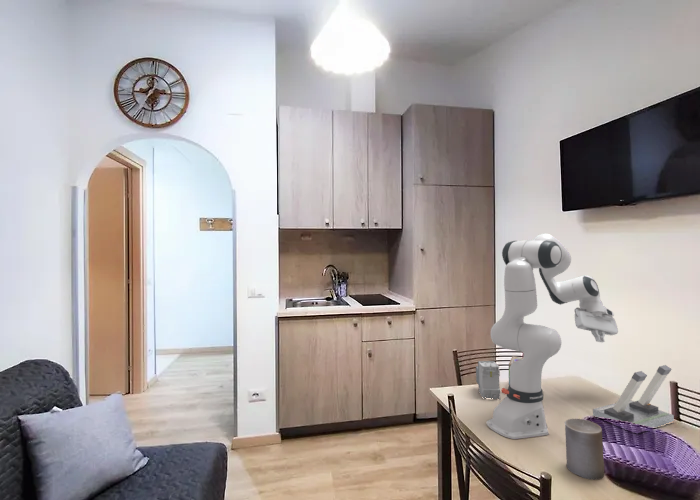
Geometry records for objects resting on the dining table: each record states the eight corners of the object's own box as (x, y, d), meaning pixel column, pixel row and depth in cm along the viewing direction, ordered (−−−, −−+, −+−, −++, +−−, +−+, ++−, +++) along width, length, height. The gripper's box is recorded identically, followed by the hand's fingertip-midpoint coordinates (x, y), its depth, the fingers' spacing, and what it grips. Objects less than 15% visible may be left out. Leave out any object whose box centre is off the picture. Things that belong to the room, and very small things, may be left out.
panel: (636, 434, 131) (636, 421, 132) (593, 416, 146) (592, 404, 146) (673, 422, 139) (673, 410, 140) (628, 406, 154) (628, 395, 154)
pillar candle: (596, 463, 115) (594, 415, 115) (610, 482, 105) (607, 429, 106) (562, 460, 117) (560, 413, 118) (572, 478, 108) (570, 427, 108)
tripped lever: (643, 405, 144) (665, 370, 137) (637, 401, 146) (659, 366, 138) (649, 404, 145) (671, 369, 138) (643, 399, 147) (665, 365, 140)
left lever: (618, 412, 138) (640, 376, 131) (612, 408, 140) (634, 372, 133) (624, 410, 140) (647, 375, 132) (619, 406, 142) (641, 371, 134)
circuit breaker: (491, 388, 179) (490, 357, 179) (500, 399, 165) (499, 366, 165) (475, 388, 180) (474, 357, 180) (483, 399, 166) (482, 366, 166)
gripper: (580, 304, 158) (587, 335, 151) (616, 313, 162) (625, 343, 156) (568, 308, 163) (574, 339, 156) (603, 317, 168) (611, 347, 161)
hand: (600, 341), depth 156 cm, fingers closed
